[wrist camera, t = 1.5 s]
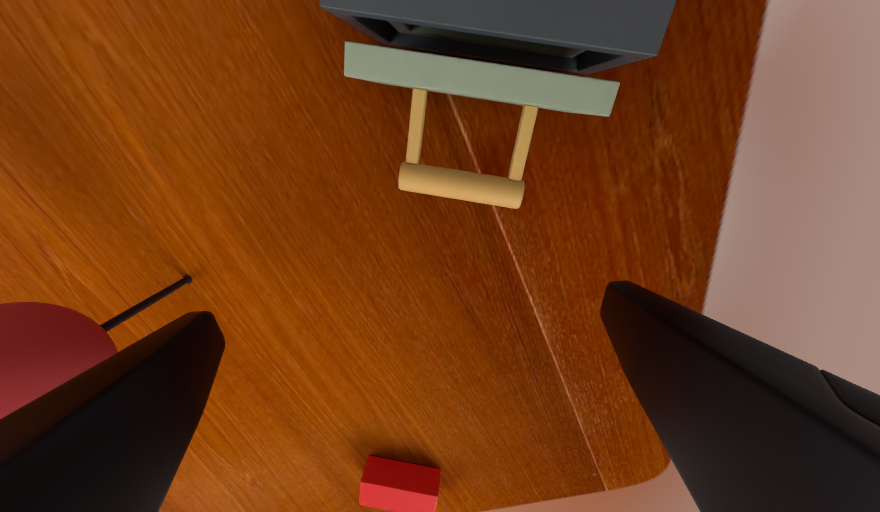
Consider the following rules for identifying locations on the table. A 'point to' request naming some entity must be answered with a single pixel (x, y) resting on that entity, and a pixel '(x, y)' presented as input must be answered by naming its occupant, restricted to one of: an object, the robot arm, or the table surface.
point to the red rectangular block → (399, 486)
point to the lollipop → (53, 346)
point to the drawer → (482, 84)
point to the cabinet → (521, 28)
